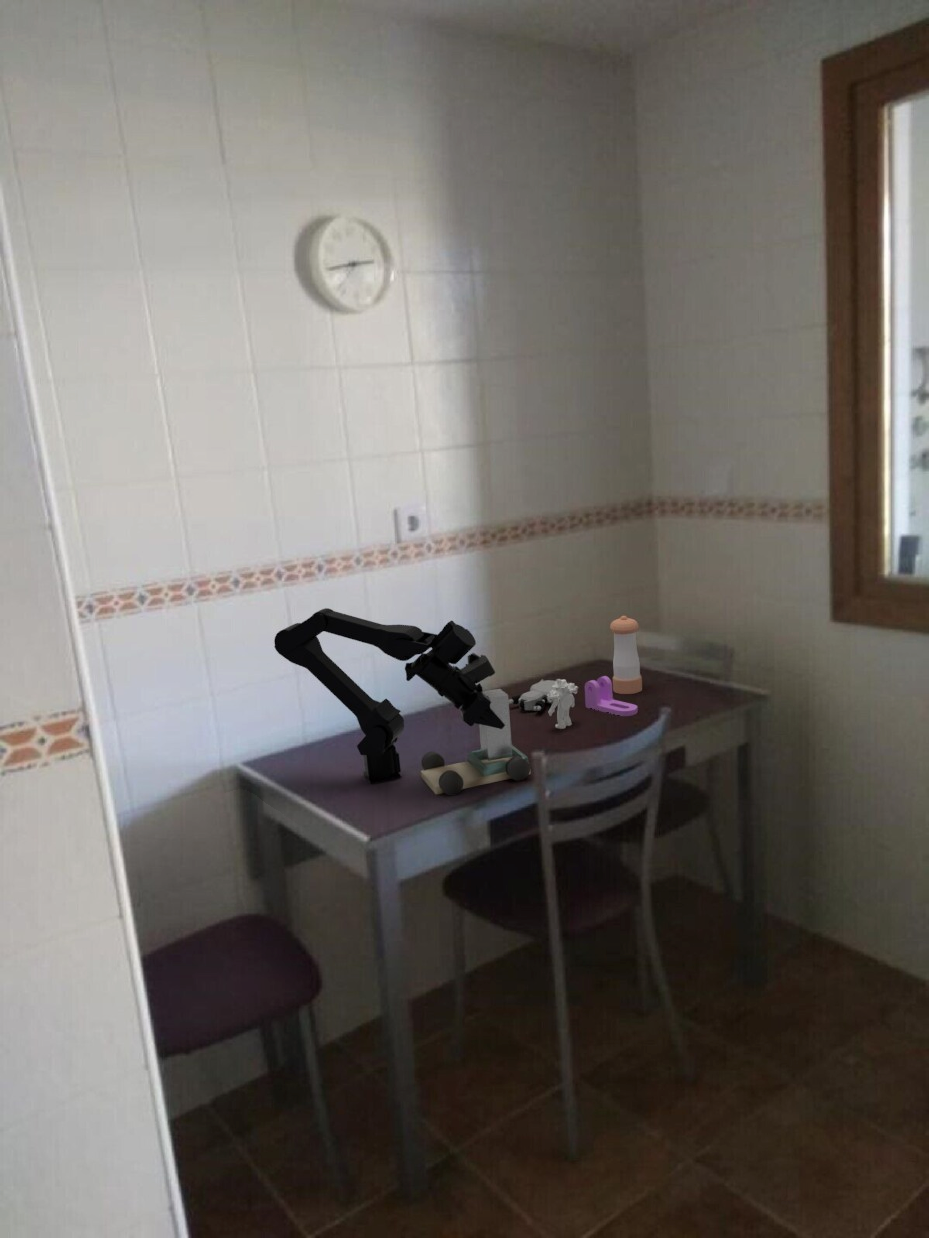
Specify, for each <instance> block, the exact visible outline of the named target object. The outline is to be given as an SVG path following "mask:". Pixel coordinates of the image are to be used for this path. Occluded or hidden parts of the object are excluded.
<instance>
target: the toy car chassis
mask: <svg viewBox="0 0 929 1238" xmlns="http://www.w3.org/2000/svg"><path fill="white" fill-rule="evenodd" d="M466 755H467V761H462V762H457V763H452V764H447V765H445V764H446V763H445V759H444V758H443V756H441V755H440V753H439V752H437V751H433V750H432V751H428V752H426V753H425V754H424V755H423V756H422V759H421V762H420V763H421V767H422V769H423V770H420V776H421V778H420V779H422V780H423V781H424V783H426V785H427V787H429V788H430V790H431V791H432V792H433V793H434V794H435V795H436V796H437V795H441V794H446V795H448V796H455V795H457V794H459V793H460V792H461V791H462V790H464V789H468V788H473V787H477V786H478V787H479V786H483V785H487V784H492V783H496V782H502V781H505V780H510V779H511V780H514V781H516V782H519V781H520V782H521V781H523V780H525V779H526V778H528V776H529V775H531V767H530V764H529V757H528V756H527V755H526V754H525V753H523V752H522V751H520V750H519V749H518V748H517V747H516V746H514V745H513V744H512V757H508V758H503V759H497V760H492V761H488V760H487V759H486V758H485V756H484V755H483V754H482V753H481V749H477V750H472V751H467V753H466Z"/></svg>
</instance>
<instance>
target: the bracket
mask: <svg viewBox="0 0 929 1238" xmlns="http://www.w3.org/2000/svg"><path fill="white" fill-rule="evenodd" d="M584 699H585V700H584V702H585V708H587V709H590V708H592V709H591V710H594V709H595V710H594V711H598V710H599V711H598V712H603V713H606V712H609V713H608V714H610V713H611V714H610V715H613V714H615V716H617V715H620V716H619V717H631V716H635V715H637V714H638V705H636V704H633V703H630V702H624V701H621V700H616V699H614V696H613V681H612V680H611V679H610V678H609V677H608V676H607V675H602V676H600V677H598V678H597V679H596V680H595V679H591V680H588V681H586V682H585V683H584Z"/></svg>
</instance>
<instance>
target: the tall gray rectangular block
mask: <svg viewBox="0 0 929 1238" xmlns="http://www.w3.org/2000/svg"><path fill="white" fill-rule="evenodd" d="M482 693H484V694H485V695H486V696H488V697H489V699H490V701H491V704H490V708H491V709H492V710H493V711H494V713H495V714H496V715H497V716H498V717H499V718H500V719H501V721H502V722H503V723H504V724H505V726H504V727H503V729H499V728H495V727H490V726H486V725H481V724H478V728H479V742H480V750H481V753H482V754H483V755H484V756H485V758H486V759H487V760H488V761H492V760H497V759H503V758H508V757H512V745H513V743H512V731H511V718H510V704H509V700H508V699H509V694H508V693H506V692H505V691H503V690H502V689H501V688H497V689H489V690H485V691H484V690H483V691H482Z"/></svg>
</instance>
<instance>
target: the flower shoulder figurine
mask: <svg viewBox="0 0 929 1238" xmlns="http://www.w3.org/2000/svg"><path fill="white" fill-rule="evenodd" d="M555 681H557V682H555V685H553V686H552V687H554V688H556V690H557V691H556V690H555V691H553V690H552V691H551V692H550V693H549V694H548V695H547V696H548V697H547V699H548V701H549V702H552V700H553V699H554V701H553V703H551V706H550V708H549V710H548V711H547V713H548V715H549V716H550V717H552V715H553V713H555V711H556V710H555V709H556V708H557V712H556V713H557V714H556V720H557V723H556V724H555V729H559V730H562V729H563V730H564V729H566V727H571V726H572V725H573V723H572V719H571V717H570V715H569V714H570V708H574V707H575V705H576V704H575V697H574V695H577V693H578V689H579V686H577V685H575V682H574V683H573V682H567V680H566V678H565V679H560V678H557V679H556V680H555ZM576 688H578V689H576ZM549 691H550V690H549ZM571 692H573V693H572V694H571ZM573 694H574V695H573ZM550 699H552V700H550Z"/></svg>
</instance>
